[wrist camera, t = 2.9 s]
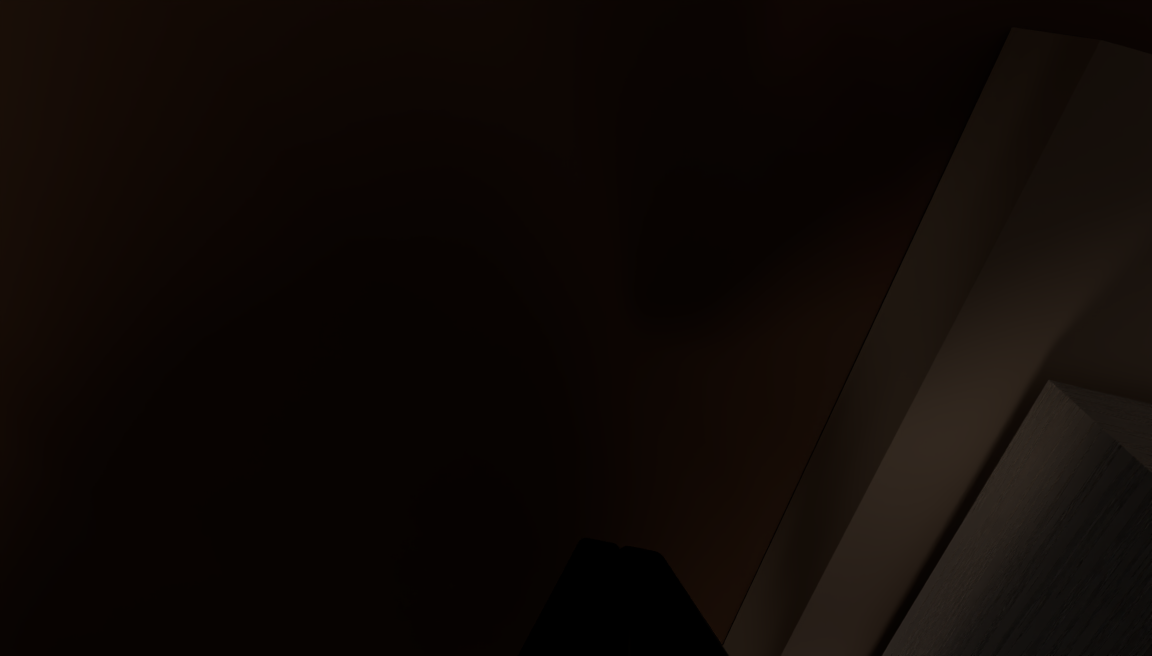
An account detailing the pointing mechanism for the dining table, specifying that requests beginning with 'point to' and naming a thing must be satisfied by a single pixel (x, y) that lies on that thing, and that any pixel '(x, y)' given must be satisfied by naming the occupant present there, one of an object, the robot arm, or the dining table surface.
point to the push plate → (1050, 542)
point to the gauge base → (973, 341)
